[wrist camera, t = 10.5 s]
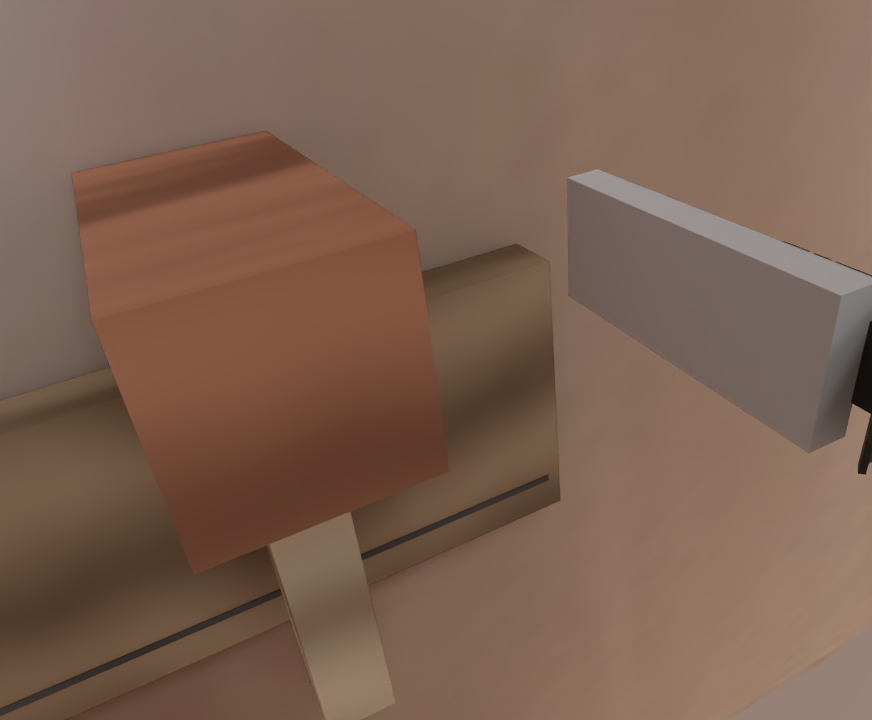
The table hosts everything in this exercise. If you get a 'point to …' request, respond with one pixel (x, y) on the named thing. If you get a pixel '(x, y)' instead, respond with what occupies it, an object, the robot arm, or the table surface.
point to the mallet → (269, 372)
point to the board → (253, 572)
